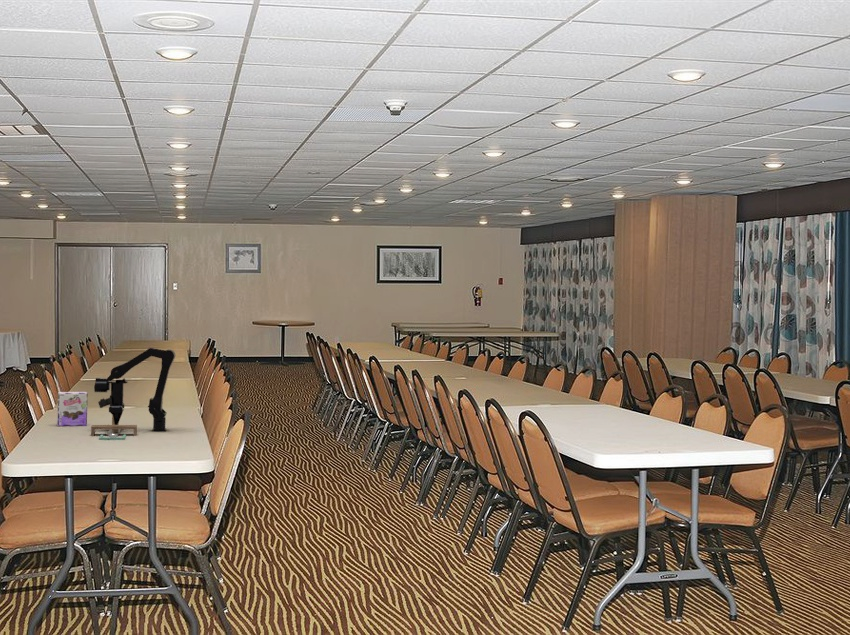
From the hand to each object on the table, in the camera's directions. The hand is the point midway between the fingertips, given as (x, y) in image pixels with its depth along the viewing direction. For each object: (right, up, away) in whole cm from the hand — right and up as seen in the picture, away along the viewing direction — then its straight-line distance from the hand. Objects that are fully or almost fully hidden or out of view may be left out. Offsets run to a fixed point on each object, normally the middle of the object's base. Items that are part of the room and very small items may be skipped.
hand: (116, 425), depth 477 cm
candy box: (-26, -2, +13) cm, 29 cm away
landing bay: (+6, -3, -25) cm, 26 cm away
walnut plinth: (+4, -3, -15) cm, 16 cm away
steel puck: (+5, -3, -21) cm, 22 cm away
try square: (+2, -3, -9) cm, 9 cm away
